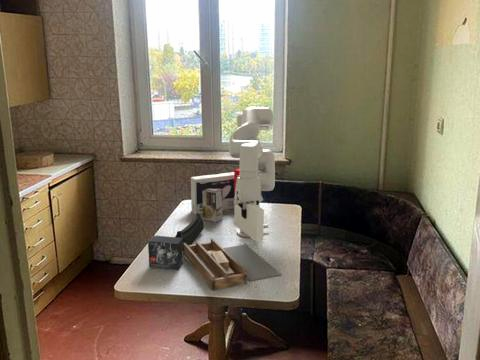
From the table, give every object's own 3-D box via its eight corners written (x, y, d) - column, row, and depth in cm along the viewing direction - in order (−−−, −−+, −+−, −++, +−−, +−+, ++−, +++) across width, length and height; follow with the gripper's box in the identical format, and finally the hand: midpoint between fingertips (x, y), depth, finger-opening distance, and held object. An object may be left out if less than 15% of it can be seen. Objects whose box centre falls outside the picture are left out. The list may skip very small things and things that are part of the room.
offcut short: (221, 255, 203) (221, 250, 203) (228, 267, 192) (228, 261, 192) (211, 257, 202) (211, 251, 201) (218, 268, 191) (218, 263, 190)
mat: (245, 245, 221) (245, 244, 221) (281, 275, 191) (281, 274, 191) (217, 249, 216) (217, 249, 215) (250, 281, 186) (250, 280, 185)
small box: (148, 268, 197) (147, 241, 194) (154, 261, 203) (152, 235, 200) (179, 270, 195) (178, 243, 192) (183, 263, 201) (183, 237, 198)
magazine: (177, 239, 204) (201, 200, 228) (170, 238, 205) (194, 200, 229) (183, 269, 213) (204, 229, 237) (176, 268, 214) (198, 228, 238)
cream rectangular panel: (240, 223, 210) (240, 195, 207) (263, 240, 191) (263, 209, 187) (234, 224, 209) (234, 196, 206) (256, 241, 189) (257, 210, 186)
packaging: (195, 214, 263) (194, 179, 258) (191, 211, 269) (190, 177, 264) (244, 206, 277) (244, 173, 272) (239, 204, 282) (239, 171, 277)
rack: (213, 249, 216) (212, 238, 214) (246, 283, 184) (246, 270, 182) (183, 254, 210) (183, 243, 209) (212, 290, 178) (212, 277, 177)
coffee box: (223, 219, 256) (223, 190, 252) (216, 222, 251) (216, 193, 247) (209, 215, 261) (209, 187, 257) (202, 219, 256) (202, 190, 252)
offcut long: (215, 256, 210) (215, 250, 209) (234, 279, 188) (234, 272, 188) (205, 257, 208) (205, 251, 208) (223, 281, 187) (223, 274, 186)
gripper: (262, 170, 200) (261, 212, 205) (226, 174, 194) (226, 216, 198) (270, 174, 193) (269, 217, 198) (233, 178, 187) (233, 222, 192)
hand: (248, 216), depth 198 cm, fingers closed on cream rectangular panel, 3 cm apart
